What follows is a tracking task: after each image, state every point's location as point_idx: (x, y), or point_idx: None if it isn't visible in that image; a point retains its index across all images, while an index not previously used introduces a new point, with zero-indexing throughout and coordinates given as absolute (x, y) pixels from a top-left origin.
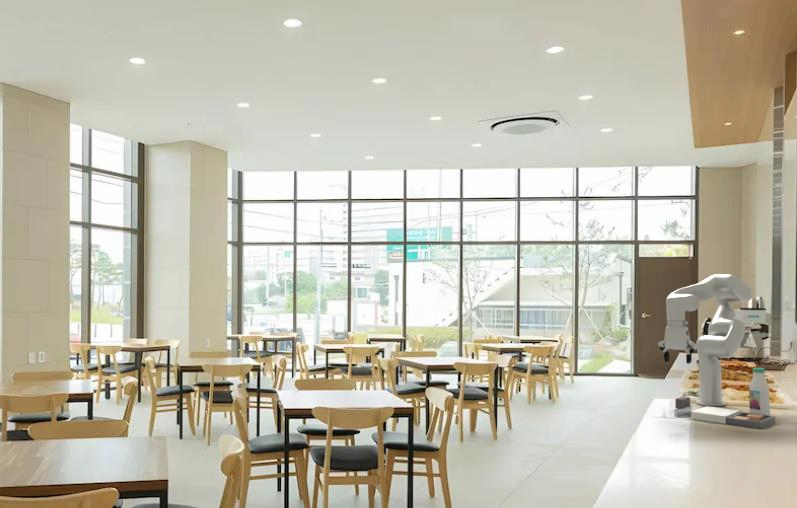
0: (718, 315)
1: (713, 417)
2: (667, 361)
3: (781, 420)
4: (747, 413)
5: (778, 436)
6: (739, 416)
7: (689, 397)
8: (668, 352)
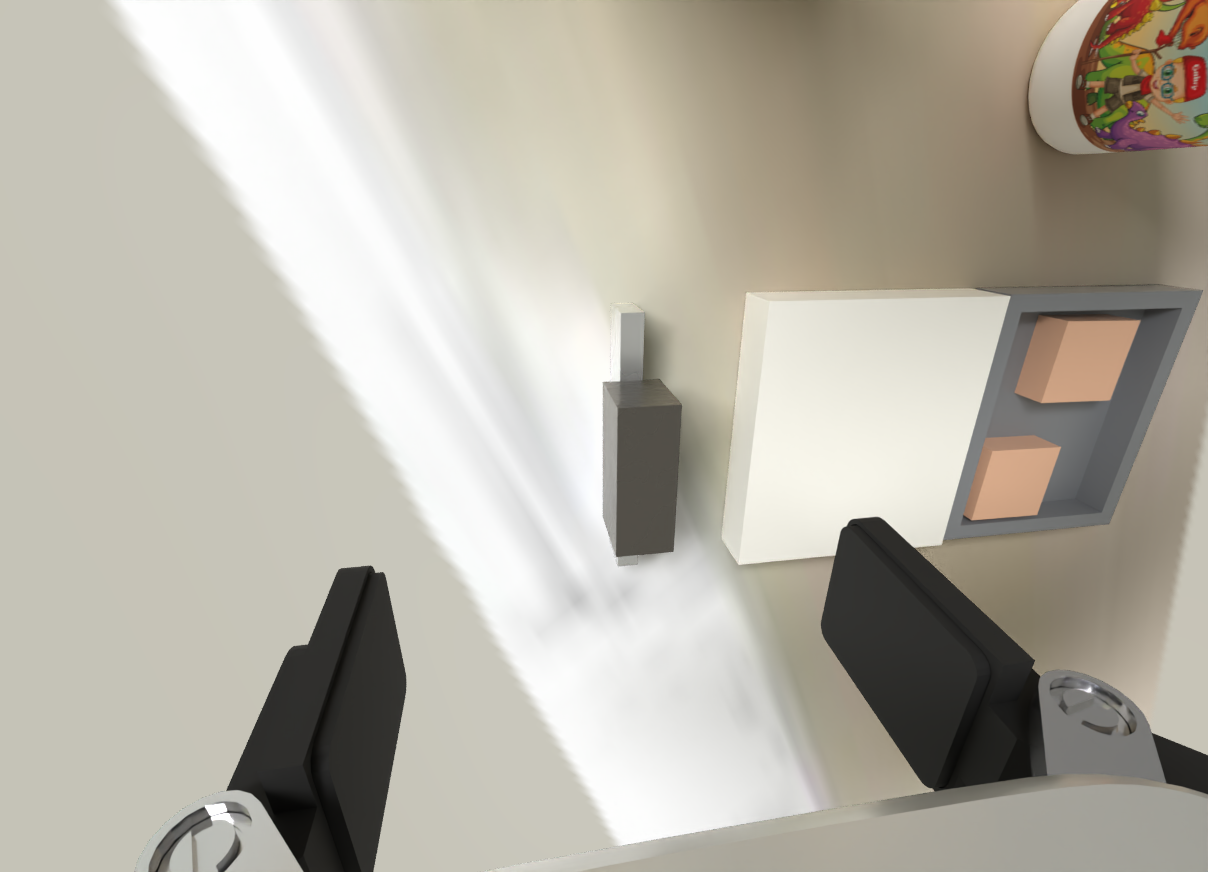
0: None
1: None
2: (399, 651)
3: (1204, 184)
4: (1045, 310)
5: (1134, 591)
6: (1005, 458)
7: (680, 416)
8: (313, 777)
